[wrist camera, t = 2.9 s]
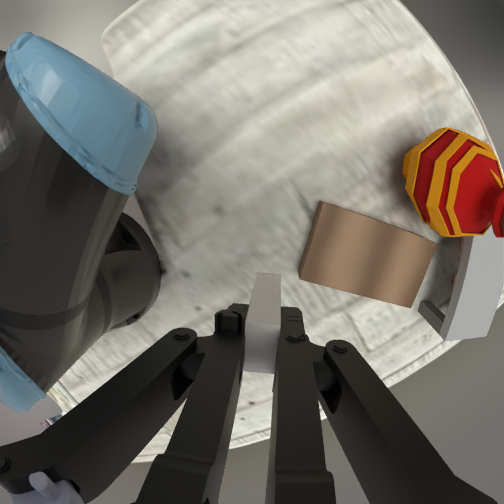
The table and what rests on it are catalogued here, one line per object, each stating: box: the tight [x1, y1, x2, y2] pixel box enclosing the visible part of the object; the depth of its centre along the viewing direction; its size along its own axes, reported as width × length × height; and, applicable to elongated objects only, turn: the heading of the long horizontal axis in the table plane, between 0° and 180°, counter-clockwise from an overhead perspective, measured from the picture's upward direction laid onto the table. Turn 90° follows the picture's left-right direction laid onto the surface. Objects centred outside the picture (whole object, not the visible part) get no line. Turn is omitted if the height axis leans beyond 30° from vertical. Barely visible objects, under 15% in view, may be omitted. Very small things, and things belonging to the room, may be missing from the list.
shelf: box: [418, 225, 504, 341], centre depth 24 cm, size 8×16×8 cm, turn 177°
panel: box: [298, 201, 436, 308], centre depth 28 cm, size 14×8×3 cm, turn 75°
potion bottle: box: [402, 127, 504, 238], centre depth 18 cm, size 10×10×15 cm
